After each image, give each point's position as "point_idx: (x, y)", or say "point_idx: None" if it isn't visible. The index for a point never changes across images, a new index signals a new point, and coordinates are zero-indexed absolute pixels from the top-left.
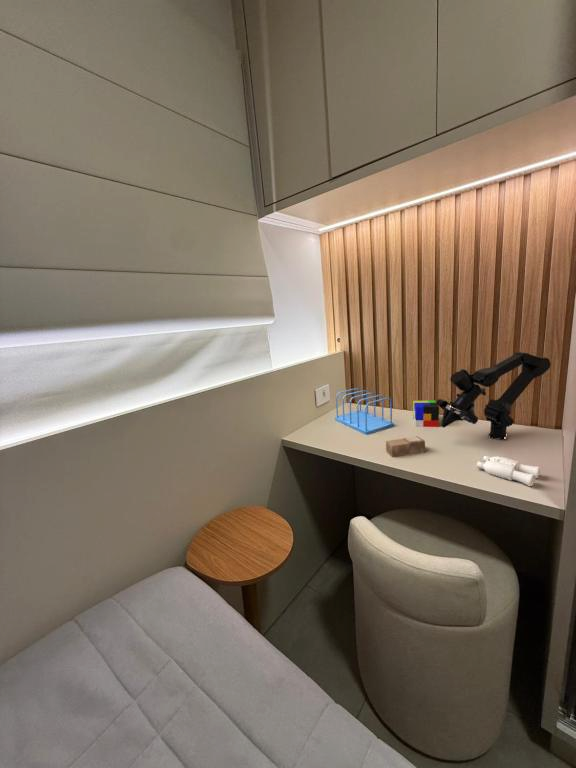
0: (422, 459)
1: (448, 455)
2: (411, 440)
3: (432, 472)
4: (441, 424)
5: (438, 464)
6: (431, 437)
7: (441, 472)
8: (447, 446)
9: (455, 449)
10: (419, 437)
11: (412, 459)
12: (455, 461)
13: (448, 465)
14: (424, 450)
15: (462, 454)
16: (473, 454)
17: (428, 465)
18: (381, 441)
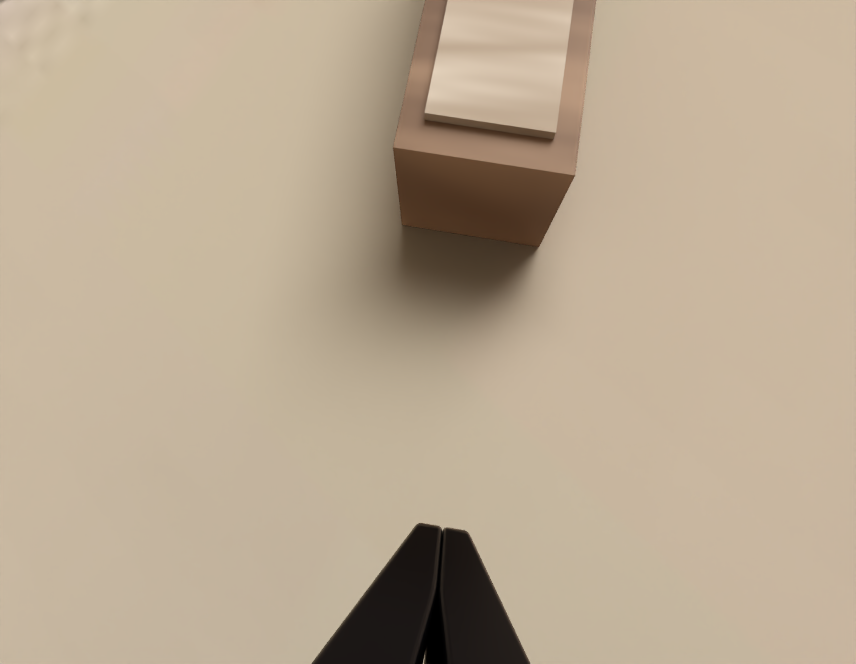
0: (290, 104)
1: (209, 375)
2: (478, 3)
3: (75, 25)
4: (463, 546)
5: (137, 155)
6: (705, 594)
7: (29, 80)
8: (383, 555)
9: (270, 574)
10: (527, 163)
11: (339, 35)
12: (77, 332)
13: (69, 215)
14: (401, 211)
15: (134, 534)
16: (54, 657)
17: (177, 74)
18: (815, 28)
